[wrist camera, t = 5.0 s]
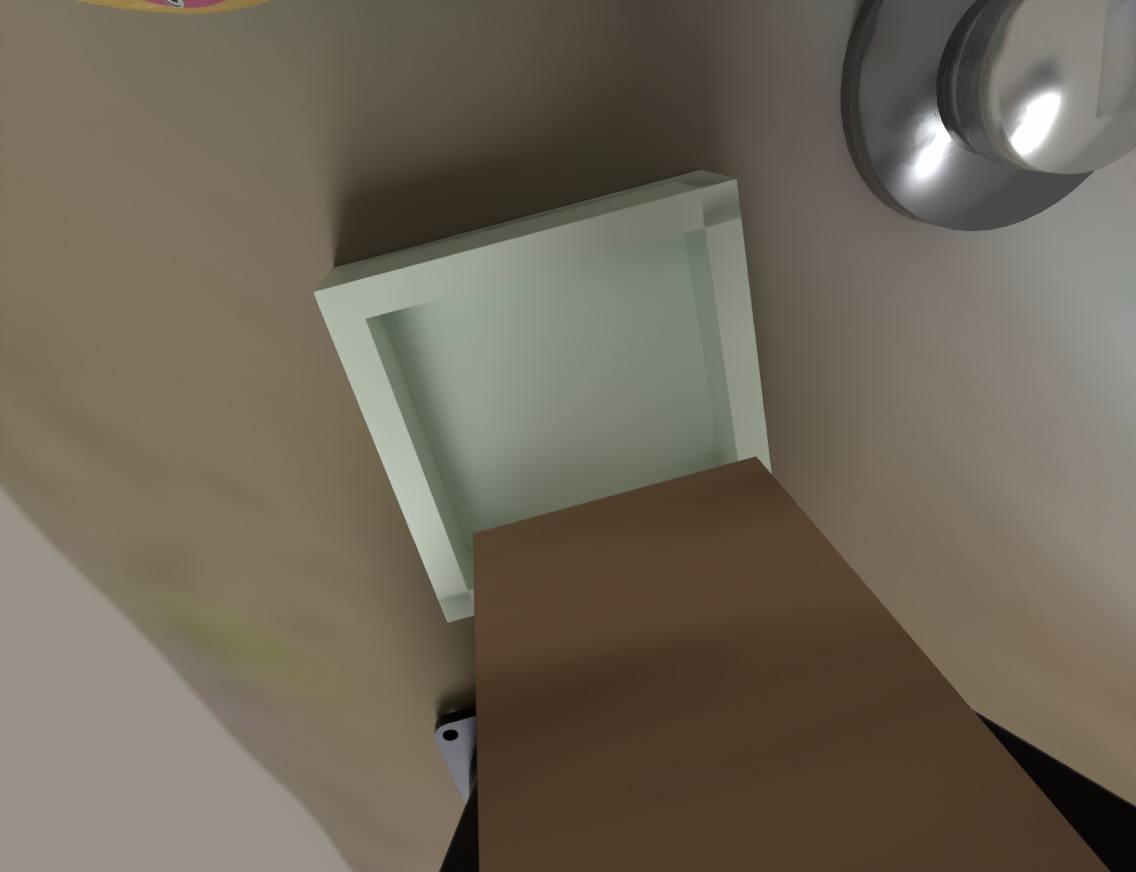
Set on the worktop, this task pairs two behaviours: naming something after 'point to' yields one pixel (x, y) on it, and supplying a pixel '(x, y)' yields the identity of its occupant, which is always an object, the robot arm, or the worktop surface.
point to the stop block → (724, 703)
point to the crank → (1050, 84)
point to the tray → (552, 361)
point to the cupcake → (177, 5)
